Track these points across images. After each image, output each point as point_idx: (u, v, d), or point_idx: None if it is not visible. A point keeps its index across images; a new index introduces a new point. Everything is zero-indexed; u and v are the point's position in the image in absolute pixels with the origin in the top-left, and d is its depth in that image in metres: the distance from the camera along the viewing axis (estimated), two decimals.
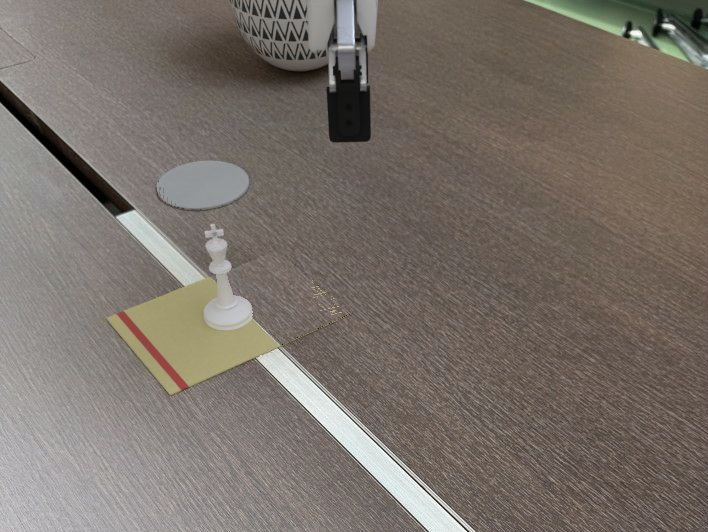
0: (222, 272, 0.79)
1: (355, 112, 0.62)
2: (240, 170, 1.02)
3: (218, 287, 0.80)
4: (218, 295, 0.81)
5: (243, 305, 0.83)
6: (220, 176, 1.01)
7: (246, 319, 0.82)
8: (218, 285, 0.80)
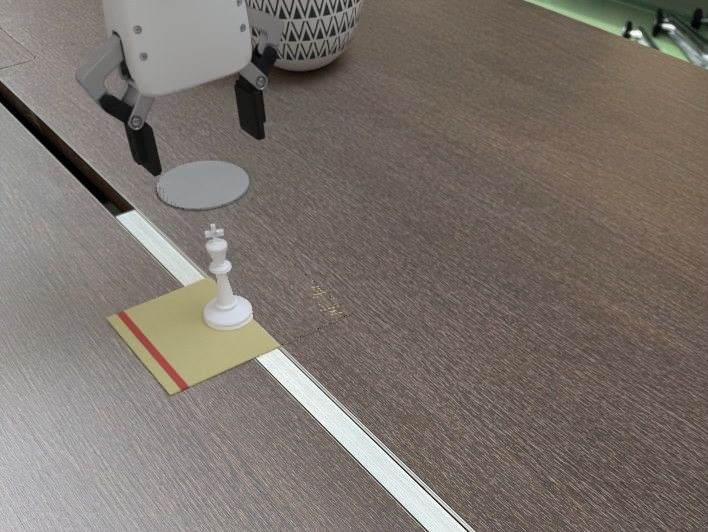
0: (222, 272, 0.79)
1: (134, 144, 0.66)
2: (240, 170, 1.02)
3: (218, 287, 0.80)
4: (218, 295, 0.81)
5: (243, 305, 0.83)
6: (220, 176, 1.01)
7: (246, 319, 0.82)
8: (218, 285, 0.80)
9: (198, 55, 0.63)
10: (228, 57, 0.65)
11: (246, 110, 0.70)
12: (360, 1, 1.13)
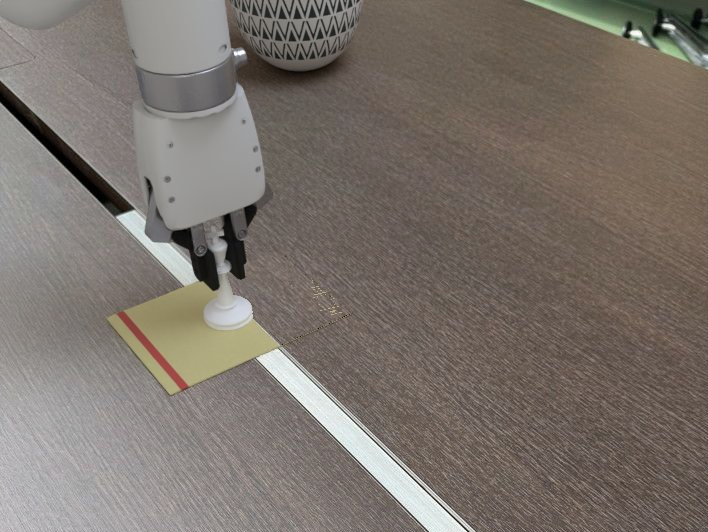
0: (222, 272, 0.79)
1: (197, 266, 0.77)
2: None
3: None
4: (218, 295, 0.81)
5: (243, 305, 0.83)
6: None
7: (246, 319, 0.82)
8: None
9: (219, 194, 0.72)
10: (244, 194, 0.73)
11: (229, 255, 0.79)
12: (360, 1, 1.13)
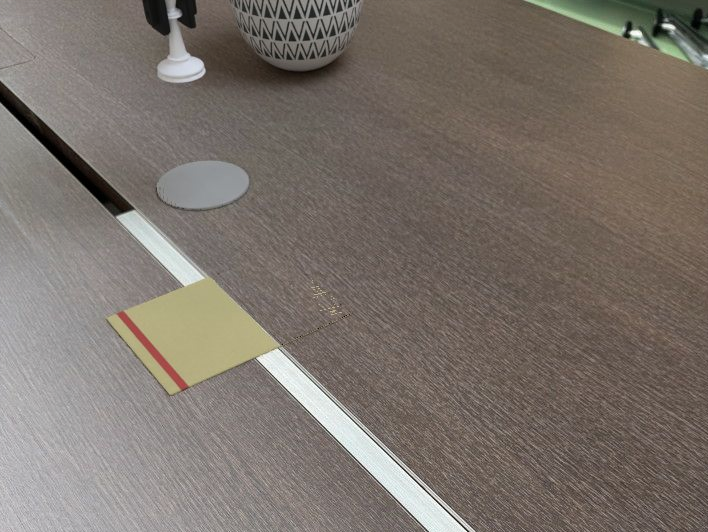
0: (173, 17, 0.82)
1: (148, 6, 0.81)
2: (240, 170, 1.02)
3: (170, 37, 0.84)
4: (170, 47, 0.85)
5: (195, 61, 0.86)
6: (220, 176, 1.01)
7: (197, 73, 0.86)
8: (170, 34, 0.84)
9: None
10: None
11: (179, 1, 0.82)
12: (360, 1, 1.13)
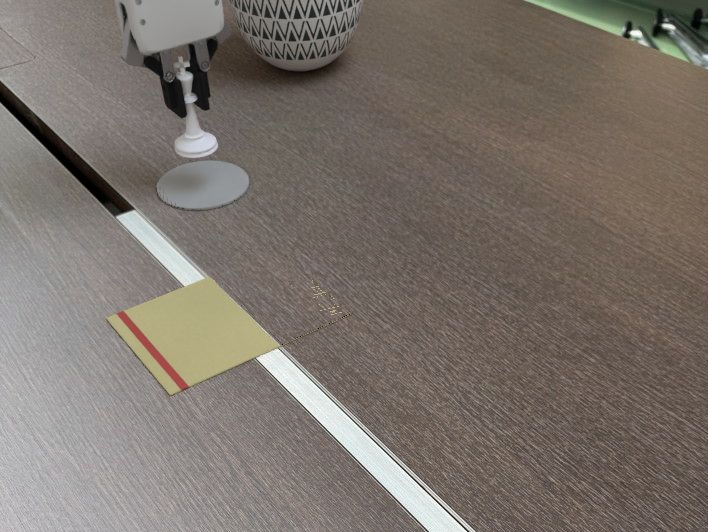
0: (189, 101, 0.92)
1: (167, 93, 0.90)
2: (240, 170, 1.02)
3: (186, 118, 0.93)
4: (186, 126, 0.94)
5: (209, 137, 0.96)
6: (220, 176, 1.01)
7: (211, 148, 0.95)
8: (186, 116, 0.93)
9: (183, 22, 0.85)
10: (205, 24, 0.86)
11: (195, 87, 0.92)
12: (360, 1, 1.13)
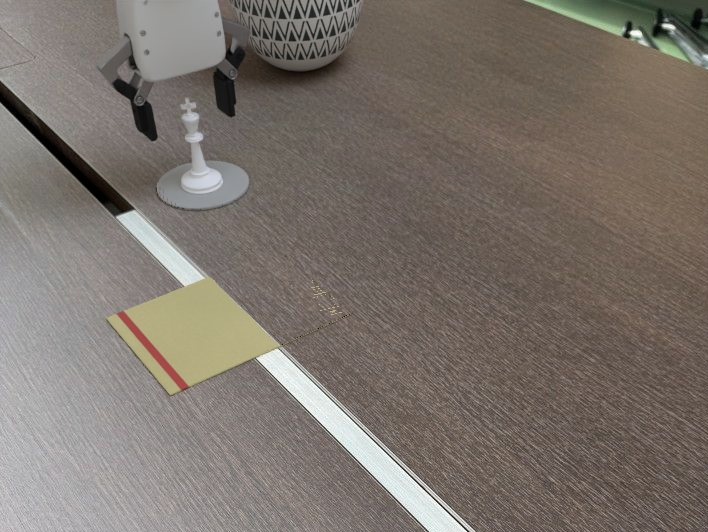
0: (195, 141, 0.95)
1: (137, 116, 0.90)
2: (240, 170, 1.02)
3: (192, 156, 0.97)
4: (193, 163, 0.97)
5: (214, 174, 0.99)
6: None
7: (216, 185, 0.99)
8: (192, 154, 0.97)
9: (186, 52, 0.87)
10: (208, 55, 0.89)
11: (221, 94, 0.94)
12: (360, 1, 1.13)
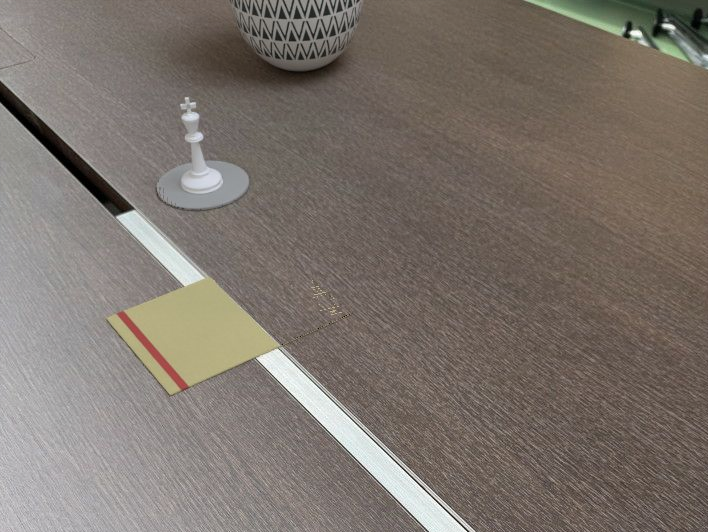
0: (195, 141, 0.95)
1: None
2: (240, 170, 1.02)
3: (192, 156, 0.97)
4: (193, 163, 0.97)
5: (214, 174, 0.99)
6: None
7: (216, 185, 0.99)
8: (192, 154, 0.97)
9: None
10: None
11: None
12: (360, 1, 1.13)
